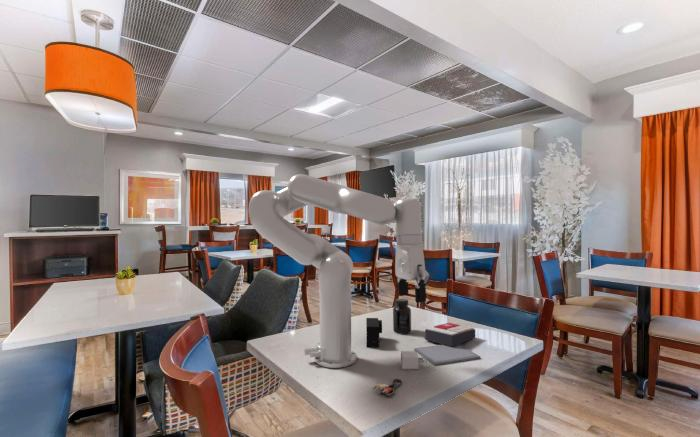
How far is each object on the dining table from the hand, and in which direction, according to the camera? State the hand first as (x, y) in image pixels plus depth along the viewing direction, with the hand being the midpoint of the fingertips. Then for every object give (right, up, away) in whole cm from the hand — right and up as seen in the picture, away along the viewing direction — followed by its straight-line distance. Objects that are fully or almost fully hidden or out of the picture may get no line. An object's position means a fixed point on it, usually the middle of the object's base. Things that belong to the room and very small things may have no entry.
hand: (411, 298), depth 97 cm
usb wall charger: (0, -19, -4) cm, 19 cm away
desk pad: (+12, -19, +6) cm, 23 cm away
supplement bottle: (+2, -20, +27) cm, 34 cm away
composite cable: (-8, -19, -16) cm, 26 cm away
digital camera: (-10, -19, +16) cm, 27 cm away
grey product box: (+17, -19, +18) cm, 31 cm away
